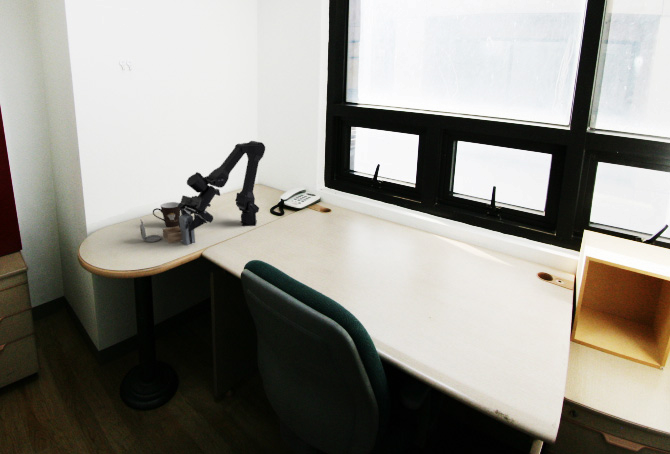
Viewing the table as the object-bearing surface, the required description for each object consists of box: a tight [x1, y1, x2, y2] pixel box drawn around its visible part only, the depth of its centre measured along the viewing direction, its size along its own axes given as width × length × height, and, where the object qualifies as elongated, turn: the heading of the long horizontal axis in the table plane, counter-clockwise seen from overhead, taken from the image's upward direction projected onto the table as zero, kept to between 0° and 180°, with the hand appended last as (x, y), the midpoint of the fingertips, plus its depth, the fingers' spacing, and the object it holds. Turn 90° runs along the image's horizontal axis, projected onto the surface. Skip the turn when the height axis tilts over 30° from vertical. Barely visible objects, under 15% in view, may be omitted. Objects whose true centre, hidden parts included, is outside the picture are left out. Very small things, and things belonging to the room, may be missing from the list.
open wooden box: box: [162, 226, 182, 244], centre depth 195 cm, size 10×9×4 cm
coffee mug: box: [152, 201, 181, 228], centre depth 209 cm, size 12×9×10 cm
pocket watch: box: [139, 218, 162, 243], centre depth 191 cm, size 8×8×10 cm
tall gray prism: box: [179, 214, 196, 246], centre depth 189 cm, size 4×4×12 cm
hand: (184, 229), depth 187 cm, fingers open, 7 cm apart
